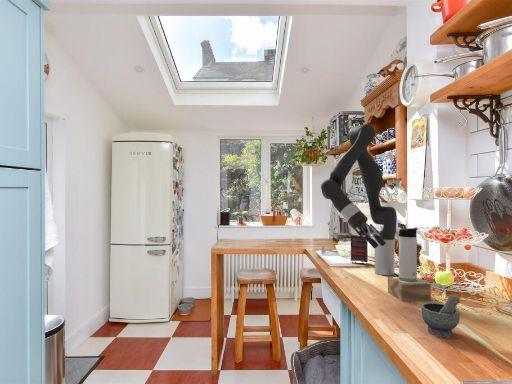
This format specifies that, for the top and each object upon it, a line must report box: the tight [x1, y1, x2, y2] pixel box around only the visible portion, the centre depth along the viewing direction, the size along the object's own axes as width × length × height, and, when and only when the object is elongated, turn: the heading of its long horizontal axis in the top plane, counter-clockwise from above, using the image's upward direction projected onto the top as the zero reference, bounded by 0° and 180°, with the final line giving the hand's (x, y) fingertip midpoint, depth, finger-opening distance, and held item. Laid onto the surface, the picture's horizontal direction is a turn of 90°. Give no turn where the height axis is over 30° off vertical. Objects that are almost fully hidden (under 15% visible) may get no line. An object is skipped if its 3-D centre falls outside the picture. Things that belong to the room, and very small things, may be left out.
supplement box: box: [350, 234, 369, 262], centre depth 189 cm, size 9×5×16 cm, turn 58°
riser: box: [387, 276, 432, 302], centre depth 127 cm, size 11×11×6 cm
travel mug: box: [398, 227, 419, 282], centre depth 127 cm, size 6×7×20 cm
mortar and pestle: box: [420, 294, 461, 338], centre depth 93 cm, size 11×9×12 cm
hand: (380, 245), depth 134 cm, fingers open, 8 cm apart
